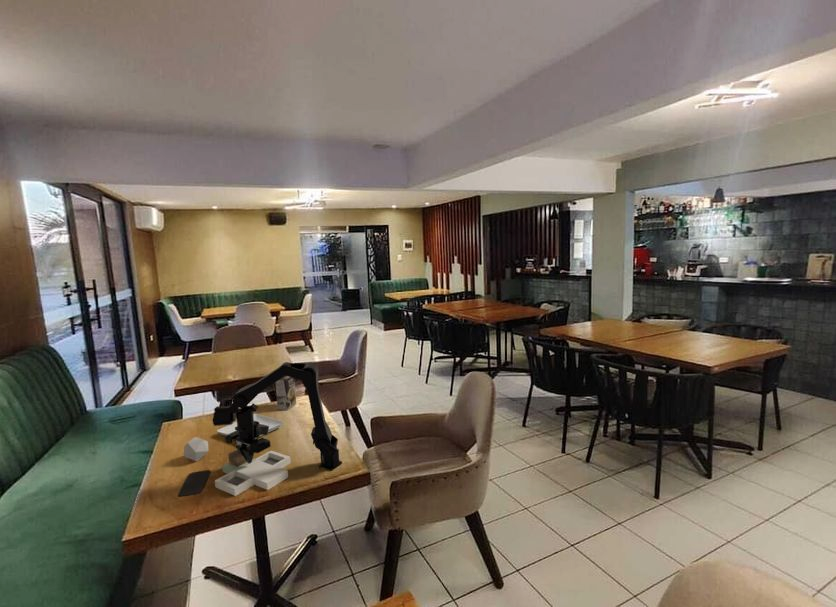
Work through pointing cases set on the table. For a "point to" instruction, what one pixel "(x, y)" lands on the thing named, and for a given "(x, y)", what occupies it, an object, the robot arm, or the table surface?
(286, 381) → the coffee box
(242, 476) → the box
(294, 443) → the table surface
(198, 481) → the phone
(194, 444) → the die
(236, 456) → the walnut block
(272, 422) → the salad plate
